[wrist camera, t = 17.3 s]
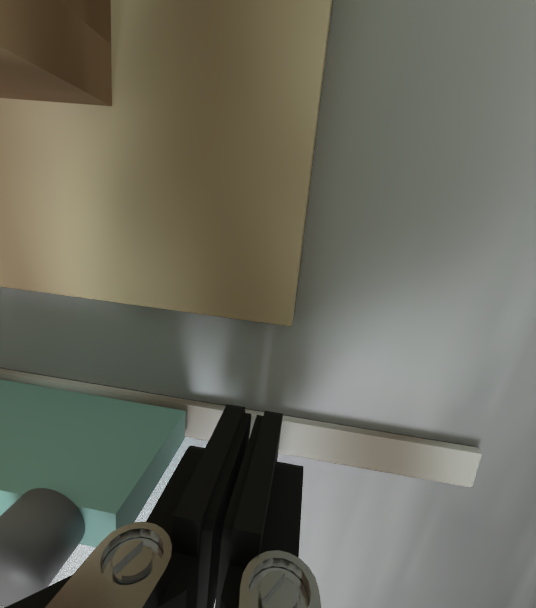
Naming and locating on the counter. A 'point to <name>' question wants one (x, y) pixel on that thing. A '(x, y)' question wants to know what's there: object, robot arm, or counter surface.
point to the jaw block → (56, 51)
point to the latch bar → (72, 475)
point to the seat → (189, 195)
